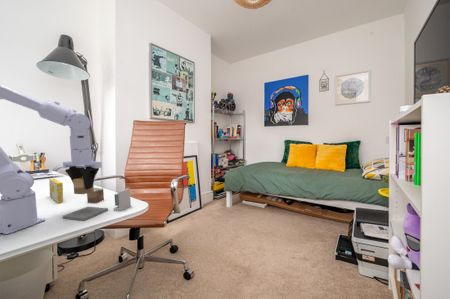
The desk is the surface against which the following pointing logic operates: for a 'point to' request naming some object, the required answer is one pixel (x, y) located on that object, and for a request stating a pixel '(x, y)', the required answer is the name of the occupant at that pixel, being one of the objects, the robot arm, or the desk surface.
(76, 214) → the parts mat
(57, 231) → the desk surface
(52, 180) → the candy box
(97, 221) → the desk surface
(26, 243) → the desk surface
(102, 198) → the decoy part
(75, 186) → the tan small block
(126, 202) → the wall unit
